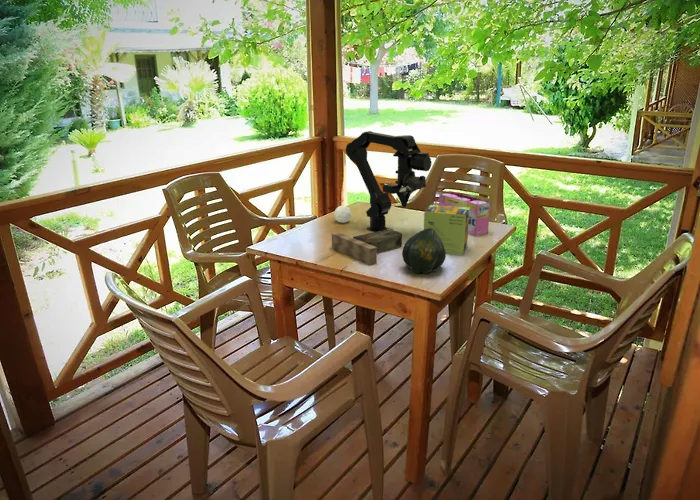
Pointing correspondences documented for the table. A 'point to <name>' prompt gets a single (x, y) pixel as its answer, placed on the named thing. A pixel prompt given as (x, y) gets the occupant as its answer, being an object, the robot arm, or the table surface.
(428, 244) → the squash
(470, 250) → the table surface
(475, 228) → the gum box
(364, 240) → the printed cardboard box
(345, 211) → the ball
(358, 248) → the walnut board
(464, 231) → the protein box
